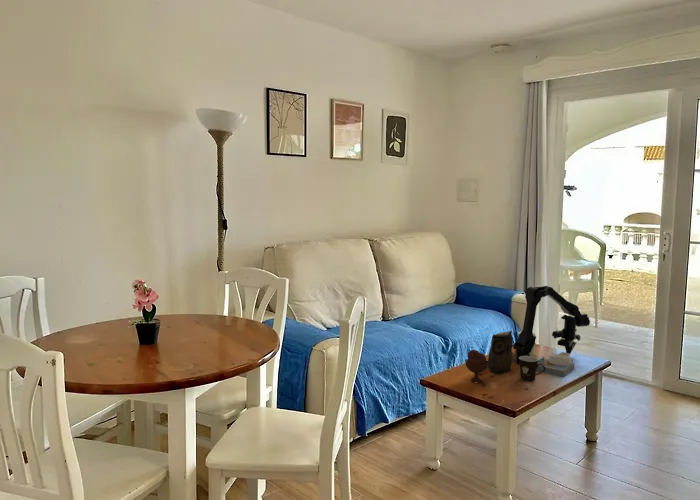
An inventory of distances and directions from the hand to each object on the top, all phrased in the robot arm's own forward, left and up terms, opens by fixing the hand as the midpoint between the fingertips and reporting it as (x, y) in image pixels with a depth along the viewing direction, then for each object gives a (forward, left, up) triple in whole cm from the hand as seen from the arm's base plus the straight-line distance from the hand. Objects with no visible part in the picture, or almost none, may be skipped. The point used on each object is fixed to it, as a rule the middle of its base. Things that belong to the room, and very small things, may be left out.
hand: (568, 355), depth 275 cm
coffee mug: (-34, -31, -2) cm, 46 cm away
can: (-20, +8, -2) cm, 22 cm away
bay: (-16, -16, -1) cm, 23 cm away
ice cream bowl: (-60, -31, -2) cm, 67 cm away
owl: (-44, -16, -2) cm, 47 cm away
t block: (-6, -7, -2) cm, 9 cm away
